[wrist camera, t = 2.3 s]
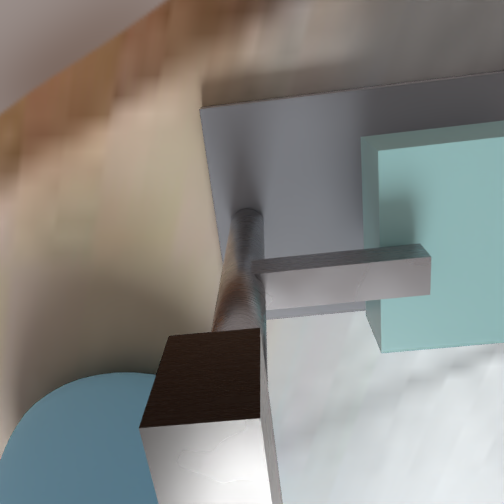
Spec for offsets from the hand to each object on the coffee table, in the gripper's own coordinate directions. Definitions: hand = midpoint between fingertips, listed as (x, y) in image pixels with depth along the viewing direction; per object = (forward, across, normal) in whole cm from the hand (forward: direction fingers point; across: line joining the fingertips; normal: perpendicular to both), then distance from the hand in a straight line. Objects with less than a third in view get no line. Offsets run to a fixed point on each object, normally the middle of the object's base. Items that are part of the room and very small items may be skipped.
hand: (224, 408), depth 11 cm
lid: (+10, -9, 0) cm, 14 cm away
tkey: (+13, -3, 0) cm, 14 cm away
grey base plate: (+14, -7, 0) cm, 16 cm away
